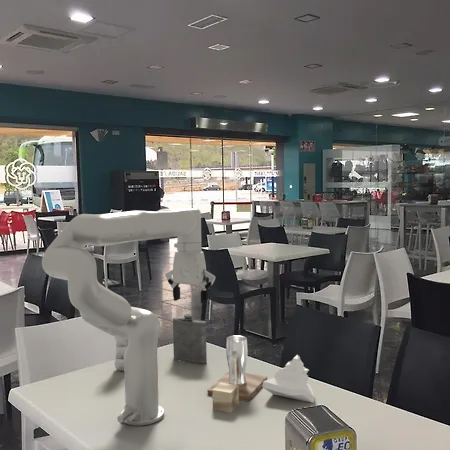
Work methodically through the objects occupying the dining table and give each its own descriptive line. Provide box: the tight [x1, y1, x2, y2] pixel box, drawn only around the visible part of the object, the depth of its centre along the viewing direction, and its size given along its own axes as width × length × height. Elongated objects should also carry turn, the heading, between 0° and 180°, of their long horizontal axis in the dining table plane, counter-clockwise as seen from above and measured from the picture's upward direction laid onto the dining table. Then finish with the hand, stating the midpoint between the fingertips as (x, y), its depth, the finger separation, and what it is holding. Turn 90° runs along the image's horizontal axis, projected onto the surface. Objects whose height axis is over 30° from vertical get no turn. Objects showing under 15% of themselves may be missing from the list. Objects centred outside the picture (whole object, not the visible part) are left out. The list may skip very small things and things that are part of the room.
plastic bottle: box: [114, 336, 129, 372], centre depth 188 cm, size 6×7×20 cm
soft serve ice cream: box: [261, 354, 315, 404], centre depth 163 cm, size 12×15×14 cm
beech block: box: [211, 383, 240, 413], centre depth 156 cm, size 6×6×6 cm
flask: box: [172, 313, 208, 365], centre depth 196 cm, size 4×14×18 cm, turn 62°
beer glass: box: [225, 335, 248, 386], centre depth 170 cm, size 7×7×15 cm
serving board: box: [207, 371, 268, 402], centre depth 171 cm, size 18×14×2 cm
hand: (190, 301), depth 164 cm, fingers open, 9 cm apart
